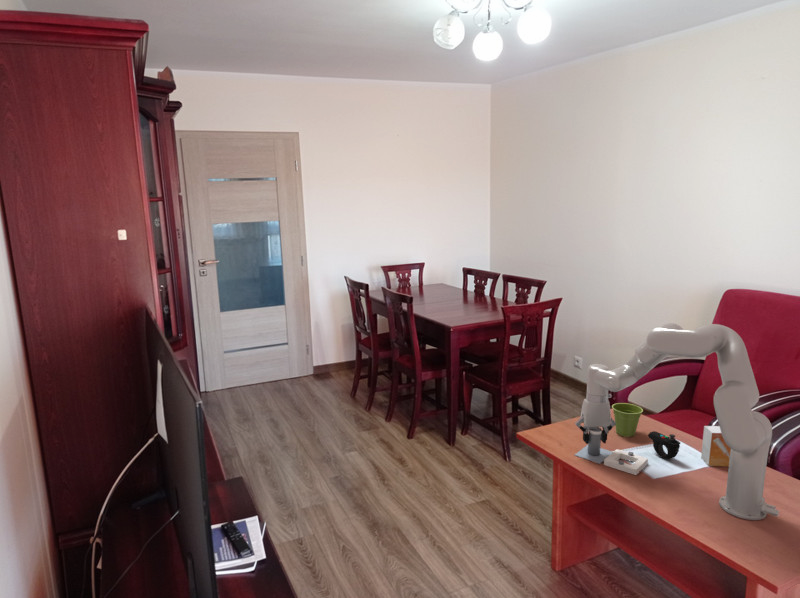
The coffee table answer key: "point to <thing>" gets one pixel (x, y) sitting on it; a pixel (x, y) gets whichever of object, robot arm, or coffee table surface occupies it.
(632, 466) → the frame
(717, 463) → the small box
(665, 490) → the coffee table surface
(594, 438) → the cartridge
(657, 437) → the controller
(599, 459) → the mat
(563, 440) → the coffee table surface
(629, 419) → the plant pot
